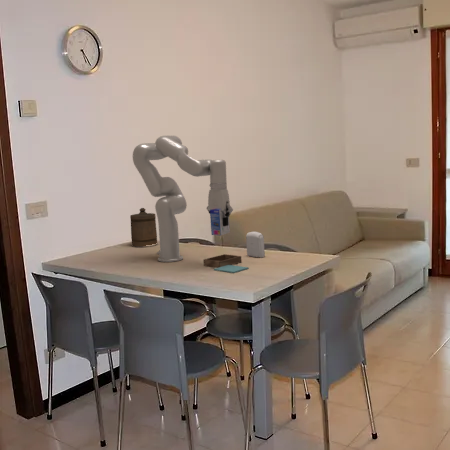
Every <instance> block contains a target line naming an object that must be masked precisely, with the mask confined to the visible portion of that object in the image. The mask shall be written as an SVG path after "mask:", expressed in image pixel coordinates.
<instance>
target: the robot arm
mask: <svg viewBox="0 0 450 450" xmlns="http://www.w3.org/2000/svg"><path fill="white" fill-rule="evenodd" d="M166 158H169V159H171V160H172V161H174V162H176V163H177V165H178V167H179V168H180V169H181V171H184V172H186V173H187V174H188V175H191V176H192V177H198V178H199V177H206V176H209V181H210V184H209V187H210V189H209V191H208V196H207V198H208V200H207V206H206V210H207V211H208V214H210V209H221V212H222V213H223V216H224V217H223V226H228V225H229V226H230V221H229V222H228V217H229V218H230V215H231V214H232V212H233V211H234V208H233V207H232V206H231V205H230V204H231V203H230V201H231V200H230V195H229V190H228V188H227V186H228V184H227V183H228V181H227V163H226V161H225V160H224V159H195V158H193V157H191V156H189V149H188V147H187V146H185V145H183V142H182V140H181V138H179V137H178V136H177V135H162V136H159V137H157V138H156V140H155V142H149V143H148V142H147V143H145V142H144V143H140V144H138V145H136V146H135V147H134V149H133V151H132V163H133V165H134V166H135V169H136V170H137V171H138V174H139V175H140V176H141V178H142V180H143V183H144V184H145V186H146V188H147V190H148V191H149V193H150V195H151V196H152V197H155V198H159V199H158V200H156V203H155V205H154V207H155V208H154V209H155V214H156V217H157V223H158V237H159V250H158V251H156V255H158V258H157V261H158V262H160V263H161V262H163V263H169V262H171V263H172V262H178V261H182V260H183V259H184V256H183V255H181V253H180V238H179V224H178V220H177V217H176V216H175V215H179V214H182V213H184V212H185V211H186V209H187V207H188V206H187V201H186V200H187V199H186V197H185V196H184V194H183V192H182V191H181V188H180V187H179V185H178V183H177V182H176V180H175V179H174V178H172V177H169V176H161V174H160V173H159V171H158V168H157V167H156V166H155V165H154V164H153V163H151V161H159V160H162V159H163V160H164V159H166ZM225 212H226V214H225Z"/></svg>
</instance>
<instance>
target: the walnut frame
mask: <svg viewBox="0 0 450 450" xmlns="http://www.w3.org/2000/svg"><path fill="white" fill-rule="evenodd" d="M240 263H242V256H241V255H235V254H226V253H225V254H224V253H223V254H221V255H216V256H212V257H208V258H204V259H203V266H204V267H210V268H219V267H222V266H226V265H234V266H235V265H237V264H240Z"/></svg>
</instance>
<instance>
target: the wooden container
mask: <svg viewBox="0 0 450 450" xmlns="http://www.w3.org/2000/svg"><path fill="white" fill-rule="evenodd" d="M156 217H157V215H156V213H152V212H151V213H150V212H149V213H148V212H146V208H144V207H141V208H140V209H139V213H133V214H131V215H130V234H131V235H130V237H131V246H132V245H133V246H146V245H152V244H156V243H157V244H158V233H157V221H156V219H157V218H156ZM133 246H132V247H133Z"/></svg>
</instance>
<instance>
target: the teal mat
mask: <svg viewBox="0 0 450 450" xmlns="http://www.w3.org/2000/svg"><path fill="white" fill-rule="evenodd" d="M246 270H249V266H248V267H247V266H241V265H235V264H234V265H226V266H222V267H219V268H216V267H214V268H213V271H217V272H223V273H231V274H235V273H239V272H243V271H246Z"/></svg>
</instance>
